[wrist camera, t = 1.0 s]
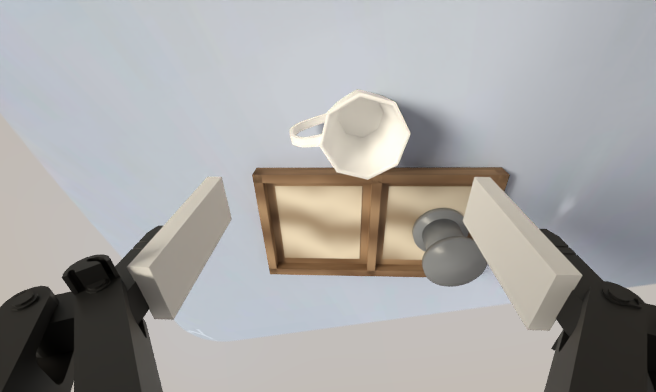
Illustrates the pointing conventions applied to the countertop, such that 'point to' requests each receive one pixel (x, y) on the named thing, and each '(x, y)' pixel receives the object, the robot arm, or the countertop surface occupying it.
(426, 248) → the doorknob
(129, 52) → the countertop surface
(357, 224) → the slot tray
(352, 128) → the cup
